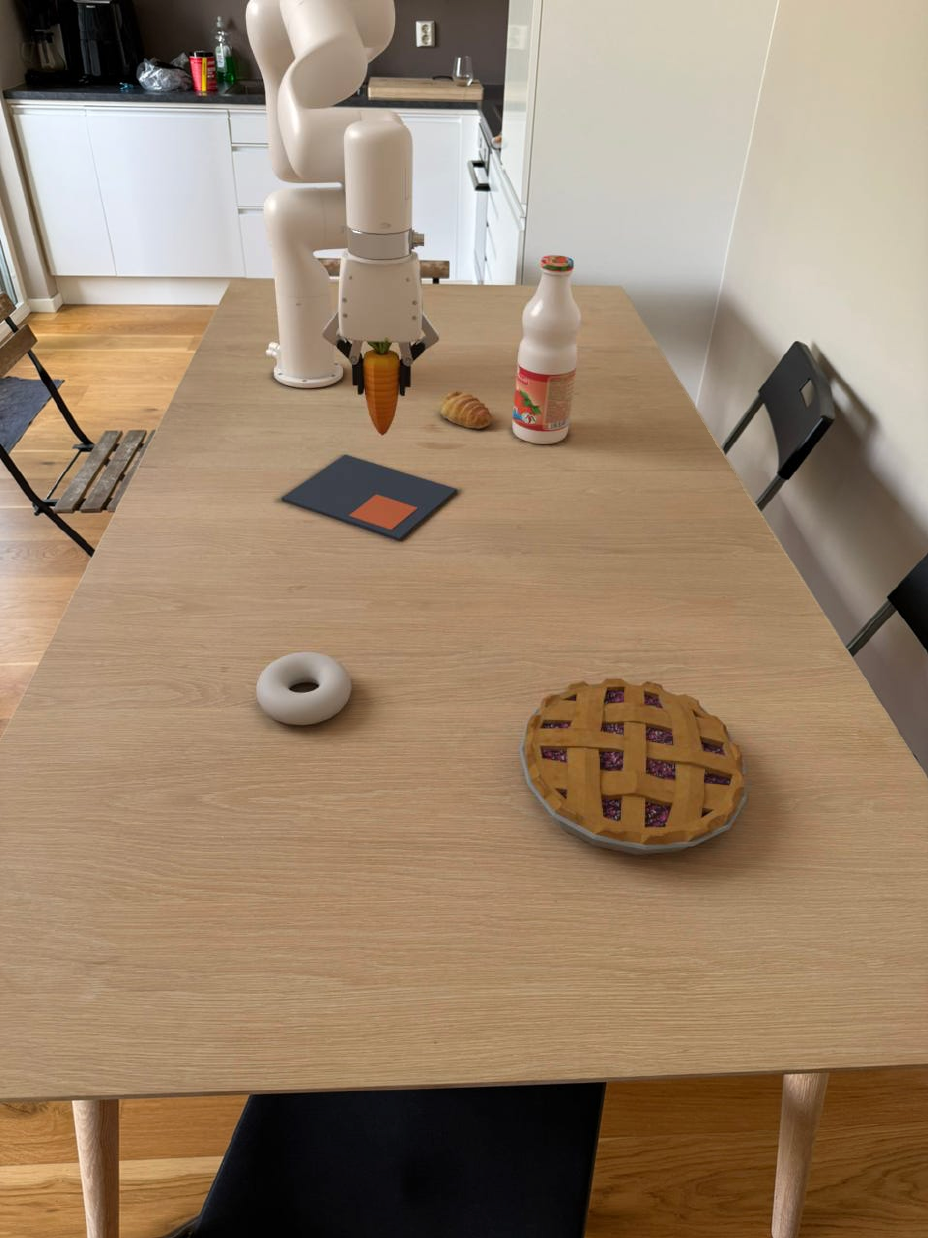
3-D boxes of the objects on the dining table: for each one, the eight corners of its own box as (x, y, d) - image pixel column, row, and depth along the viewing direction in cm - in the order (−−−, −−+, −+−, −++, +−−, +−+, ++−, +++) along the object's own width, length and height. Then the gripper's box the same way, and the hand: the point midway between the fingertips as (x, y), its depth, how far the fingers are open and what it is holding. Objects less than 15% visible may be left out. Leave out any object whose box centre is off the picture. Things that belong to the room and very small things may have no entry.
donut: (237, 708, 94) (311, 745, 90) (233, 683, 92) (308, 720, 88) (300, 658, 101) (371, 690, 97) (297, 634, 99) (369, 666, 94)
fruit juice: (569, 446, 145) (592, 270, 128) (512, 444, 145) (527, 267, 128) (565, 421, 153) (586, 251, 136) (510, 419, 153) (524, 248, 136)
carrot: (406, 430, 120) (407, 319, 110) (392, 446, 116) (391, 332, 107) (372, 424, 121) (370, 313, 112) (357, 439, 117) (353, 326, 108)
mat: (281, 500, 128) (281, 496, 127) (345, 457, 139) (345, 453, 139) (399, 540, 121) (399, 537, 120) (456, 491, 132) (457, 488, 132)
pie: (516, 863, 79) (521, 826, 76) (517, 697, 97) (520, 662, 94) (762, 879, 79) (776, 843, 76) (718, 710, 96) (728, 675, 93)
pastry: (501, 423, 151) (502, 402, 149) (473, 435, 147) (474, 414, 145) (462, 405, 156) (463, 385, 154) (434, 416, 152) (434, 395, 150)
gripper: (452, 236, 107) (447, 381, 118) (310, 231, 106) (318, 377, 117) (453, 254, 101) (447, 405, 112) (302, 248, 100) (312, 401, 111)
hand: (381, 389), depth 114 cm, fingers closed on carrot, 4 cm apart
